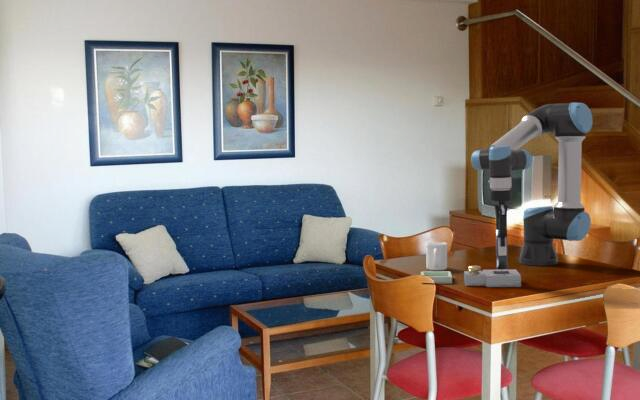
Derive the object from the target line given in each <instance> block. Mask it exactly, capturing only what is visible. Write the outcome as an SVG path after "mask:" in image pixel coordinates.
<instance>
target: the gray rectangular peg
mask: <svg viewBox="0 0 640 400" xmlns="http://www.w3.org/2000/svg"><path fill="white" fill-rule="evenodd" d="M497 236H499V229H496V228H495V259H496V260H495V263H496V265H495V266H496V270H505V269H508V268H509V266H508V264H509V263H508V261H509V260H508V251H507V255H504V256H499V249H498V238H497ZM506 248H507V249H508V235H507V236H506Z"/></svg>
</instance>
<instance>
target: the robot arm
mask: <svg viewBox="0 0 640 400" xmlns="http://www.w3.org/2000/svg"><path fill="white" fill-rule="evenodd" d="M591 111H592V110H591V109H590V108H589V107H588V105H587V104H585V103H583V102H566V103H565V102H561V103H560V102H559V103H548V104H544V105H542V106H540V107H537V108H536V109H534V110H532V111H531V112H529V113H527V114H526V115H525V116H523V117H522V118H521V120H520V122H519V124H517V125H516V126H514V127H513V128H512V129H511V130H509V131H508V132H507V133H504V134H503V135H502V136H501V137H500V138H499V139H497V140H496V141H495V142H493V143H492V144H491V145H489V146H488V147H486V148H485V149H478V150H474V151H473V153H472V154H471V157H470V162H471V165H472V167H473V169H474V170H476V171H477V170H480V171H489V180H488V181H487V183H488V184H489V188H490V191H489V200H490V201H491V202H496V204H495V205H494V211H495V214H494V215H495V230H496V229H499V236H497V238H498V249H499V256H504V255H507V252H508V247H507V248H506V236H507V237H508V220H507V218H508V217H507V216H508V214H507V213H508V205H506V201H507V202H508V201H511V200H512V199H513V197H512V194H513V193H512V182H513V181H512V172H517V171H520V172H521V171H524V170H527V169H529V168H530V167H531V165H532V163H533V158H532V157H533V156H532V155H531V152H530V151H528V150H526V149H520V148H521V147H522V146H524V145H525V144H526V143H528V141H531V140H532V139H535V138H538V137H540V136H541V135H544V134H545V135H546V134H554V139H556V140H557V141H558V169H557V172H558V173H557V202H556V204H554V205H553V206H552V205H547V206H538V207H529V208H526V209H525V210H524V212H523V218H522V221H523V245H522V249H521V250H520V251H521V252H520V255H519V259H518V260H519V264H522V265H524V266H525V265H526V266H536V267H537V266H539V267H542V266H546V267H547V266H553V265H555V266H556V265H558V264H559V263H558V262H559V260H558V254H557V252H556V249H555V246H554V240H560V241H568V242H579V241H582V240H584V239H585V238H586V237H587V235H588V234H589V231H590V229H591V225H592V224H591V222H592V220H591V215H590V214H589V213H588V211H586V210H585V207H586V206H584V205H583V203H582V198H581V196H582V194H581V193H582V154H583V153H582V149H583V148H582V143H583V141H584V140H585V139H586V137H587V133H589V132H591V129H592V127H593V115H592V112H591Z"/></svg>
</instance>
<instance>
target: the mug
mask: <svg viewBox="0 0 640 400" xmlns="http://www.w3.org/2000/svg"><path fill="white" fill-rule="evenodd" d="M425 260H426V261H425V264H426V269H427V270H428V269H429V270H428V271H445V270H447V268H448V243H447V242H444V241H443V242H442V241H434V242H433V241H432V242H426V243H425Z"/></svg>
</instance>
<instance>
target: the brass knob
mask: <svg viewBox="0 0 640 400" xmlns="http://www.w3.org/2000/svg"><path fill="white" fill-rule="evenodd" d="M467 267H468V268H467V271H471V274H478V271H482V266H480V265H469V266H468V265H467Z"/></svg>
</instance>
